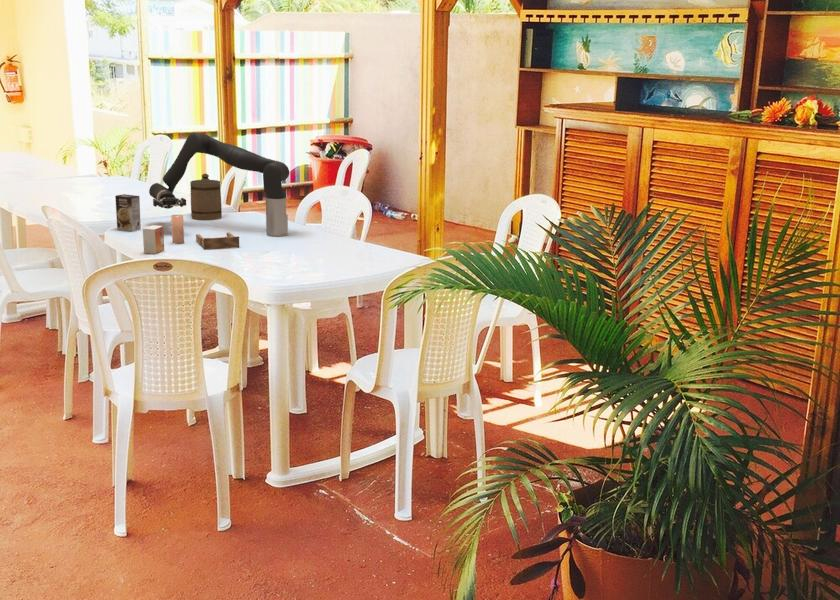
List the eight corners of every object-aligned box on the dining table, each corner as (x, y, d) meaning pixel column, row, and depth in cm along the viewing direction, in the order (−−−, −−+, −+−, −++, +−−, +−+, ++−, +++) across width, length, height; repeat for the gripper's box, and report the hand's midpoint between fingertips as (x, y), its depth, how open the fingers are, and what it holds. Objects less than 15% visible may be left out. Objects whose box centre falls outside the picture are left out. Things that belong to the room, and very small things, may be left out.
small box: (156, 254, 393) (154, 229, 390) (143, 253, 394) (142, 228, 391) (164, 250, 400) (163, 225, 398) (152, 249, 401) (151, 225, 399)
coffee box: (116, 230, 438) (114, 195, 434) (125, 227, 444) (123, 193, 440) (132, 232, 435) (130, 197, 431) (141, 229, 441) (139, 195, 437)
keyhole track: (230, 239, 425) (229, 229, 424) (239, 247, 409) (239, 236, 408) (196, 241, 419) (195, 231, 418) (204, 249, 403) (204, 239, 402)
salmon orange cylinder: (183, 241, 418) (182, 214, 415) (185, 243, 414) (184, 216, 411) (171, 242, 416) (170, 215, 413) (173, 244, 412) (172, 217, 409)
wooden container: (210, 214, 484) (209, 170, 478) (227, 218, 474) (226, 174, 468) (185, 217, 474) (183, 173, 468) (202, 221, 464) (200, 176, 458)
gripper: (149, 191, 432) (155, 197, 417) (181, 190, 437) (188, 196, 423) (150, 207, 434) (156, 214, 419) (182, 206, 439) (188, 212, 425)
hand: (172, 205), depth 421 cm, fingers open, 8 cm apart
